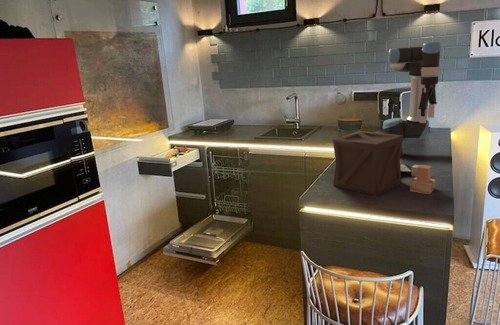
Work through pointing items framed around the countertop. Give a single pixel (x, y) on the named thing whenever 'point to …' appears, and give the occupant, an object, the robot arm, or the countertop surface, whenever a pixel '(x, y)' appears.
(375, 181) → the wooden crate
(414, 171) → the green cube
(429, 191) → the oak block
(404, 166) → the empty snack wrapper
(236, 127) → the countertop surface
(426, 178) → the terracotta block
